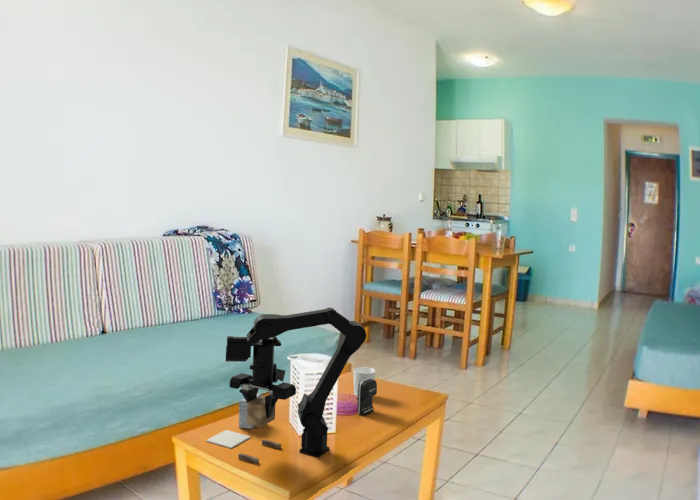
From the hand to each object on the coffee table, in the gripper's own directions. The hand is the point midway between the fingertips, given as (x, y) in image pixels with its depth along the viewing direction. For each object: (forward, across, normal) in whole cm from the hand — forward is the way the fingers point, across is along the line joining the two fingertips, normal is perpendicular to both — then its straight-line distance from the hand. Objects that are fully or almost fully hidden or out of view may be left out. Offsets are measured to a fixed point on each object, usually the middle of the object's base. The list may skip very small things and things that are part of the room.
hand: (261, 416), depth 165 cm
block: (+2, 0, 0) cm, 2 cm away
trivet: (+11, +13, -3) cm, 17 cm away
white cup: (+11, -4, -58) cm, 60 cm away
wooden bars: (+11, 0, 0) cm, 11 cm away
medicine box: (+11, +15, -16) cm, 24 cm away
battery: (+11, -12, -44) cm, 47 cm away
